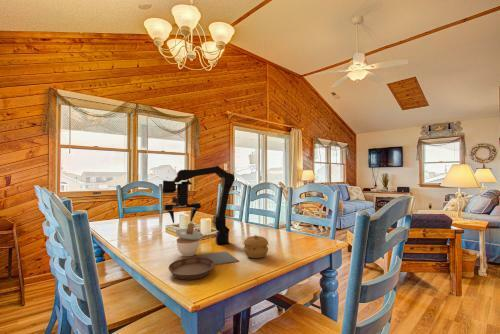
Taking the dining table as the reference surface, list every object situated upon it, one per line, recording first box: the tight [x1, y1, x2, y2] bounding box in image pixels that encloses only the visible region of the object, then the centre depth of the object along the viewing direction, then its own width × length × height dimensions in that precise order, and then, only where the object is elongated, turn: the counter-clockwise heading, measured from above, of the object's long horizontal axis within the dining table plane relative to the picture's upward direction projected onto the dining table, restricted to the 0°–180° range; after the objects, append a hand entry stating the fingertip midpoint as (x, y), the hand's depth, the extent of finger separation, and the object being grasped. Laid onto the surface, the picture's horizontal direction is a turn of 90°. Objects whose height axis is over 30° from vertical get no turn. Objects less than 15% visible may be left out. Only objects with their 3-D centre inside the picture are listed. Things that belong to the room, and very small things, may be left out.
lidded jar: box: [176, 237, 201, 257], centre depth 126 cm, size 11×11×9 cm
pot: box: [242, 234, 269, 259], centre depth 123 cm, size 12×12×10 cm
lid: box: [175, 222, 204, 240], centre depth 126 cm, size 13×13×5 cm
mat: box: [193, 250, 240, 267], centre depth 120 cm, size 16×16×1 cm
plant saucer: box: [168, 256, 216, 281], centre depth 103 cm, size 18×18×3 cm
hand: (182, 222), depth 139 cm, fingers open, 9 cm apart
